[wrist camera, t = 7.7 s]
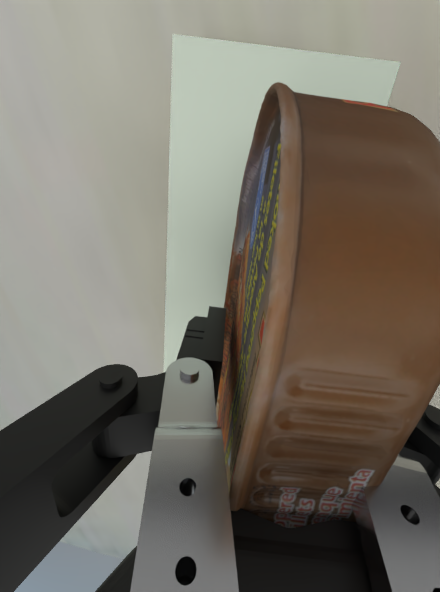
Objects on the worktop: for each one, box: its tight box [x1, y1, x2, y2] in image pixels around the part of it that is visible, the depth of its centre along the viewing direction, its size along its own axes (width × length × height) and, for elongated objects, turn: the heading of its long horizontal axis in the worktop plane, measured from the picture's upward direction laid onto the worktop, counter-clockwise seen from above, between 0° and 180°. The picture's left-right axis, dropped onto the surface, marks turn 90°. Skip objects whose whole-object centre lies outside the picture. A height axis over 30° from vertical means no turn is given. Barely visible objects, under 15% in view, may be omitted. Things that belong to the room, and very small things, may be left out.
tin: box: [216, 82, 440, 528], centre depth 8 cm, size 15×3×8 cm, turn 173°
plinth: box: [164, 34, 401, 372], centre depth 18 cm, size 10×22×5 cm, turn 174°
